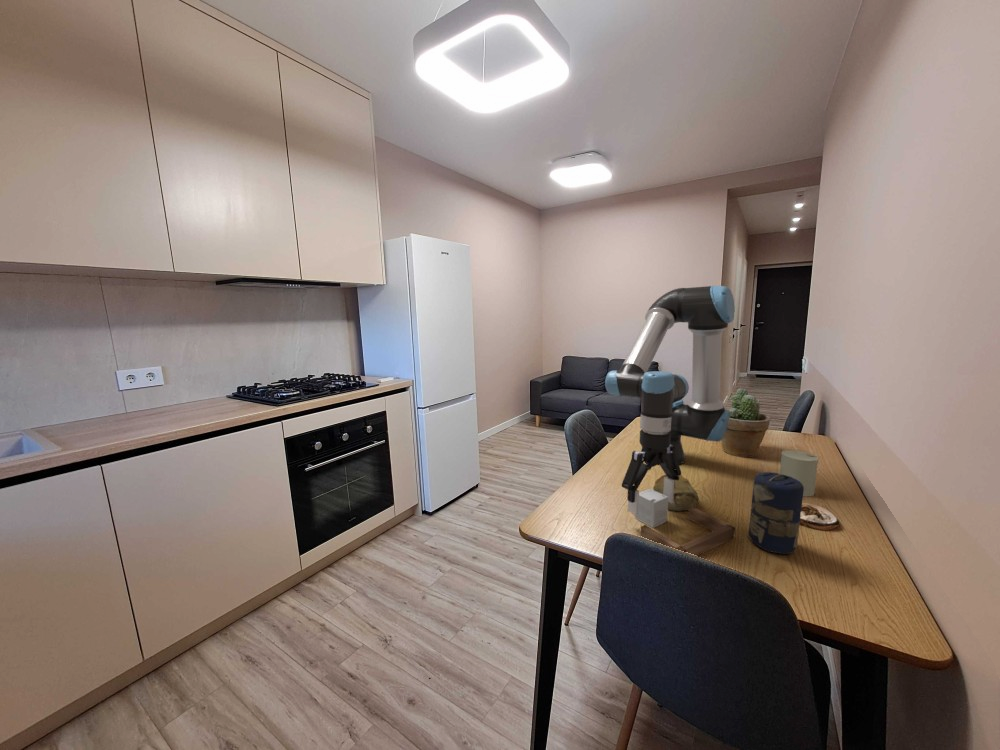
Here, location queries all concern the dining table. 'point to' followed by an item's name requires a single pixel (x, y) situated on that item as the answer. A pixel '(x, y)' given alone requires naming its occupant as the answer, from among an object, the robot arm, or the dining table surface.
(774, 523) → the canister
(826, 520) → the sushi roll
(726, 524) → the bay
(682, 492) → the pastry
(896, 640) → the dining table surface
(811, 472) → the can
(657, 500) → the skincare box
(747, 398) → the potted plant
